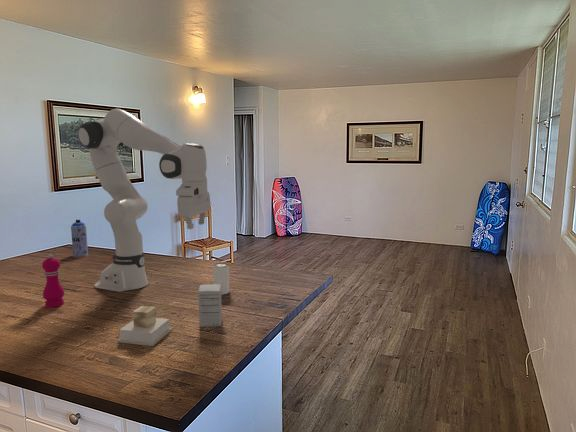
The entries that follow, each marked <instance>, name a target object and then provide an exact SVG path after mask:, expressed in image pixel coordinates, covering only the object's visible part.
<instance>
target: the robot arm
mask: <svg viewBox="0 0 576 432" xmlns="http://www.w3.org/2000/svg"><path fill="white" fill-rule="evenodd" d="M77 137H78V140H79V143H80V144H81V145H82V146H83V147H84V148H86V149H88V152H89V158H90V162H91V164H92V167H93V169H94V171H95V172H94V173H96V176H97V179H98V181H99V182H100V185H101V188H102V189H103V190H104V191H105V192H107V193H108V195H110V197H111V198H112V199H113V200H111V201H110V202H108V203H107V204H106V205H105V207H104V210H103V215H104V218H105V220H106V221H107V222H108V223H109V225H110V228H111V229H112V232H113V233H112V234H113V236H114V246H115V254H114V255H112V256H111V257H110V260H112V263H111V264H110V265H108V266H106V268H105V269H103V270H102V271H101V272H100V276H99V281H97V282H95V284H94V288H96V289H102V290H107V291H112V292H118V293H121V292H125V291H130V290H132V291H133V290H138V289H141V288H144V287H146V286H148V285H149V280H148V278H147V273H146V269H145V252H144V246H143V234H142V233H141V232H140V231H139V227H138V225H137V220H139V219H141V218H142V217H143V216H144V215H145V214H146V213H147V210H148V205H149V204H148V202H147V200H146V199H145V198H144V197H143V196H142V195H141V194H139V192H138V190H137V189H136V188H135V186H134V185H133V183H132V181H131V180H130V178H129V176H128V174H127V172H126V169H125V167H124V165H123V162H122V160H121V158H120V156H119V154H118V149H117V148H118V146H119V147H123V146H126V147H128V148H129V149H132V150H136V151H143V152H144V151H147V152H155V153H159V154H161V155H162V156H161V157H160V159H159V163H158V165H159V171H160V173H161V175H162V177H164V178H166V179H170V180H175V179H176V180H177V179H181V184H180V186H179V187H178V188H177V189H176V191H175V195H176V196H177V200H176V201H177V203H176V204H177V205H176V206H177V214H178V216H179V218H182V219H184V221H185V223H186V228H187V230H192V229H194V227H195V226H194V223H193V217H194V216H198V215H199V217H198V221H197V222H198V225H201V226H202V225H204V224H205V220H206V219H205V218H206V216H207V215H206V212H209V211H210V210H211V207H212V205H211V198H210V197H211V195H210V192H209V191H208V178H207V168H208V167H207V153H206V151H205V147H204V146H203V145H202V144H199V143H192V142H184V143H183V144H181V145H179V144H178V143H176V142H175V141H173V140H171V139H170V138H168V137H166V136H164V135H162V134H161V133H160V132H158V131H157V130H154V129H153V128H152V127H150V126H149V125H147V124H146V123H145V122H144V121H141V120H140V119H139V118H137V117H136V116H134V115H133V114H131V113H129V112H128V111H126V110H124V109H121V108H112V109H110V110H109V111H108V112H107V113H106V114H105V116H104V117H103V118H100V119H95V120H92V121H89V120H88V121H86V122H84V123H82V124H80V125H79V126H78V128H77Z"/></svg>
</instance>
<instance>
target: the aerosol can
mask: <svg viewBox="0 0 576 432" xmlns="http://www.w3.org/2000/svg"><path fill="white" fill-rule="evenodd" d="M70 231H71V243H72V244H71V245H72V257H74V258H81V257H87V256H89V250H88V249H89V248H88V237H87V236H88V235H87V234H88V233H87V226H86V224H85V223H84V222H83V221H81V219H75V222H73V223H72V224H71V226H70Z"/></svg>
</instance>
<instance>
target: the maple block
mask: <svg viewBox="0 0 576 432" xmlns="http://www.w3.org/2000/svg"><path fill="white" fill-rule="evenodd" d="M132 318H133V320H132V321H133V322H134V327H143V328H149V327H150V326H151V325H153V324H154V323H155V322H156V318H157V309H156V306H149V305H147V306H145V305H140V306H139V307H137V308H136V309H135V310H133V311H132Z"/></svg>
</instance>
